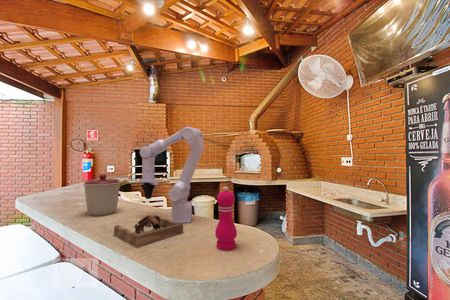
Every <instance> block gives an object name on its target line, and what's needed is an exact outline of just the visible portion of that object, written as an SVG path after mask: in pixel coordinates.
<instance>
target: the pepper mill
mask: <svg viewBox="0 0 450 300" xmlns="http://www.w3.org/2000/svg"><path fill="white" fill-rule="evenodd" d="M235 199H236V197H235V194H234V193H233V192H232V191H230V190H229V187H228V186H223V188H222V191H220V192H219V193H218V194H217V196H216V201H217V204H218V206H217V207H218V211H219V220H218V223H217V225H216V227H215V231H214V232H215V234H214V235H215V237H216V239H217V241H216V247H217V249H219V250H222V251H230V250H234V249H235V248H236V243H237V242H236V240H235V239H236V238H237V236H238V232H237V230H238V229H237V227H236V225H235V223H234V219H233V211H234V205H233V204H235V201H236V200H235Z"/></svg>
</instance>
